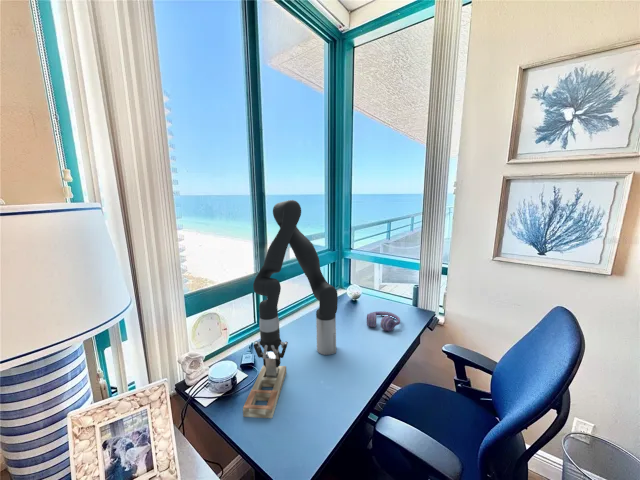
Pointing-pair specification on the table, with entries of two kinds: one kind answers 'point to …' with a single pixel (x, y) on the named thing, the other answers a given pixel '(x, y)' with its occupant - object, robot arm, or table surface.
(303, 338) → the table surface
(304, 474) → the table surface
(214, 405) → the table surface
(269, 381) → the wooden slotted board
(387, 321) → the headphones
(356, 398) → the table surface
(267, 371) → the steel peg
